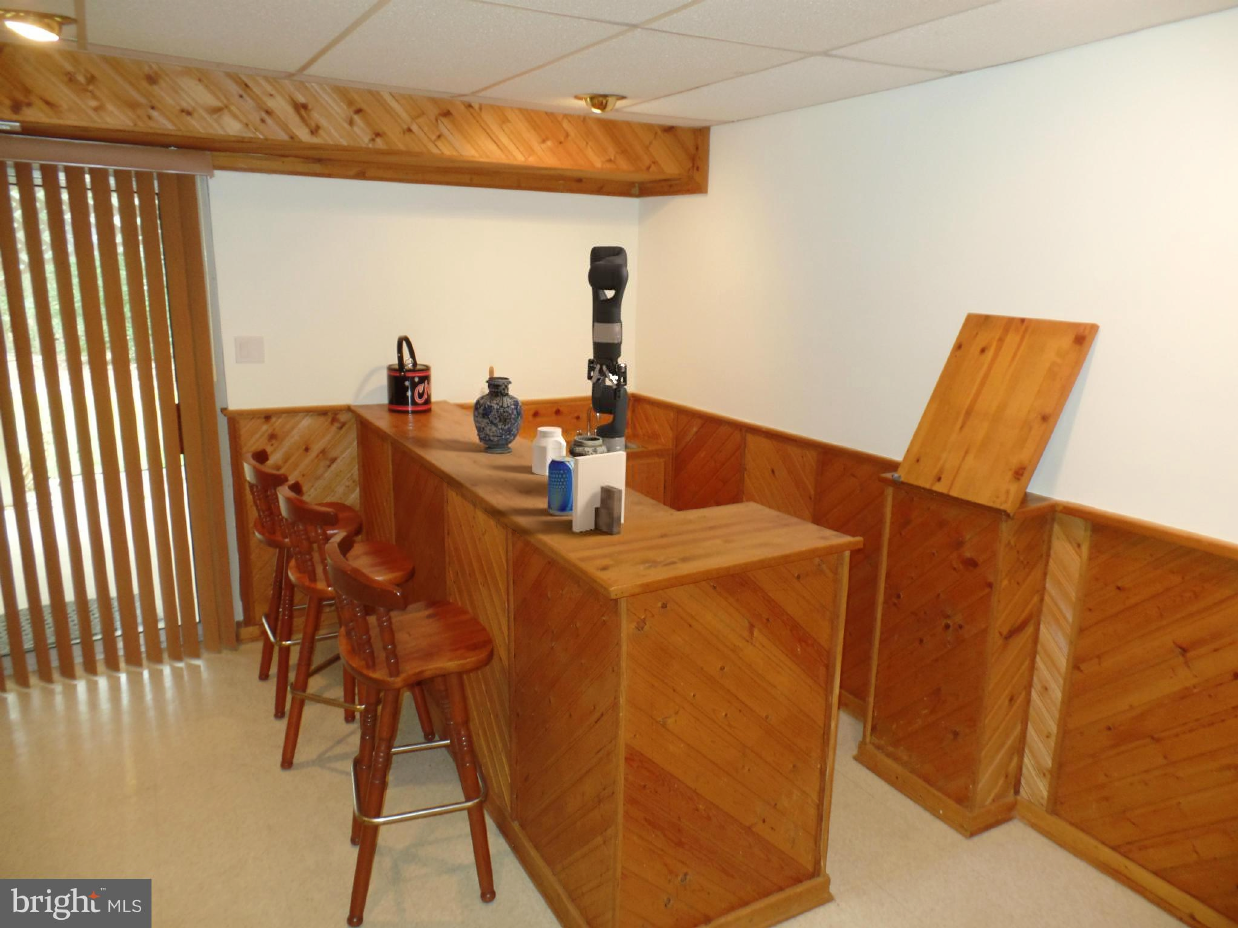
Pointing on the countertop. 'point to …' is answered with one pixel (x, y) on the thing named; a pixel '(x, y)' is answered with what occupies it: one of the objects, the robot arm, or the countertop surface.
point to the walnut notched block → (609, 510)
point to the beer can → (561, 485)
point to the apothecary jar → (587, 446)
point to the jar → (547, 448)
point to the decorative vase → (497, 416)
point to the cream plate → (595, 485)
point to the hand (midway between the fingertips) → (606, 399)
